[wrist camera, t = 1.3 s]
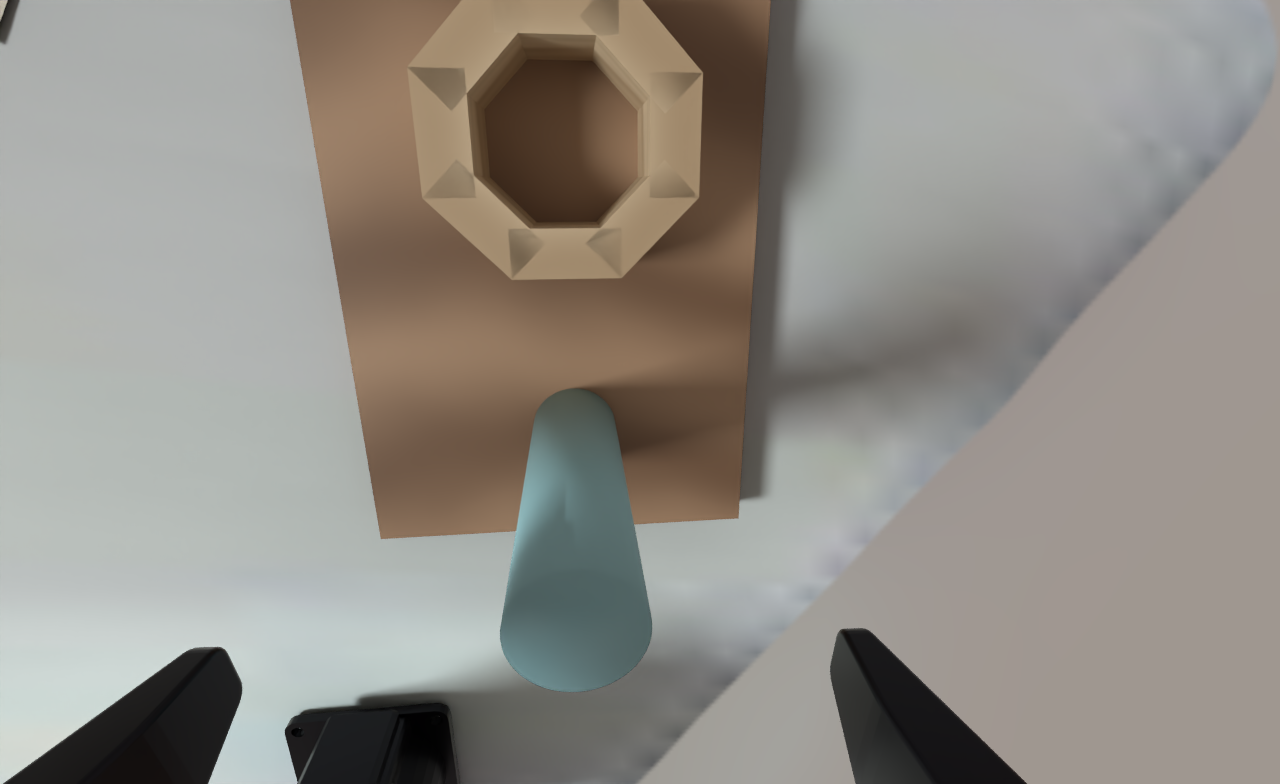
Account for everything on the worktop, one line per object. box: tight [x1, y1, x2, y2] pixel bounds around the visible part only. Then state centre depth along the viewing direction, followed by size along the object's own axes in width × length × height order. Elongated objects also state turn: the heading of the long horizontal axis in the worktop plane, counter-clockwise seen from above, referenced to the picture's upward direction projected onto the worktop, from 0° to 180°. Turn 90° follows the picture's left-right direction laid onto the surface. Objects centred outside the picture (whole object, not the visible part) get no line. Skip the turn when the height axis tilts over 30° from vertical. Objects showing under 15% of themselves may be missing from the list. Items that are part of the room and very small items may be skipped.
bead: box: [407, 0, 703, 280], centre depth 16 cm, size 7×7×3 cm
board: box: [290, 0, 771, 539], centre depth 19 cm, size 18×13×1 cm
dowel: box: [500, 388, 652, 692], centre depth 16 cm, size 3×3×10 cm
